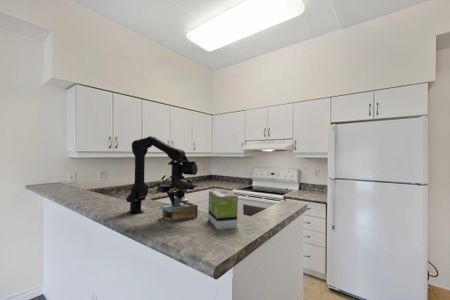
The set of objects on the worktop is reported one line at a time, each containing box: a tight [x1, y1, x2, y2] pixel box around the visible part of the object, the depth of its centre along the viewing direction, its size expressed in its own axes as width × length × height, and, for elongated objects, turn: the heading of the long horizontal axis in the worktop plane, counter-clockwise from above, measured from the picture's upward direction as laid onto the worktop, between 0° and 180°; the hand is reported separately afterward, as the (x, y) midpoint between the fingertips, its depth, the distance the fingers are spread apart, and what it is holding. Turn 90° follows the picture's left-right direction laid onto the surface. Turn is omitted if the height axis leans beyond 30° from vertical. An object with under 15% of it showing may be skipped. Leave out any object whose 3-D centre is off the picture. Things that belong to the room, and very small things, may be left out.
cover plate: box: [160, 196, 189, 212], centre depth 104 cm, size 9×12×5 cm
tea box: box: [207, 190, 239, 230], centre depth 98 cm, size 15×10×15 cm
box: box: [162, 201, 199, 223], centre depth 106 cm, size 11×14×6 cm
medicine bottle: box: [174, 190, 189, 202], centre depth 117 cm, size 7×7×12 cm
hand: (175, 204), depth 104 cm, fingers closed on cover plate, 3 cm apart
